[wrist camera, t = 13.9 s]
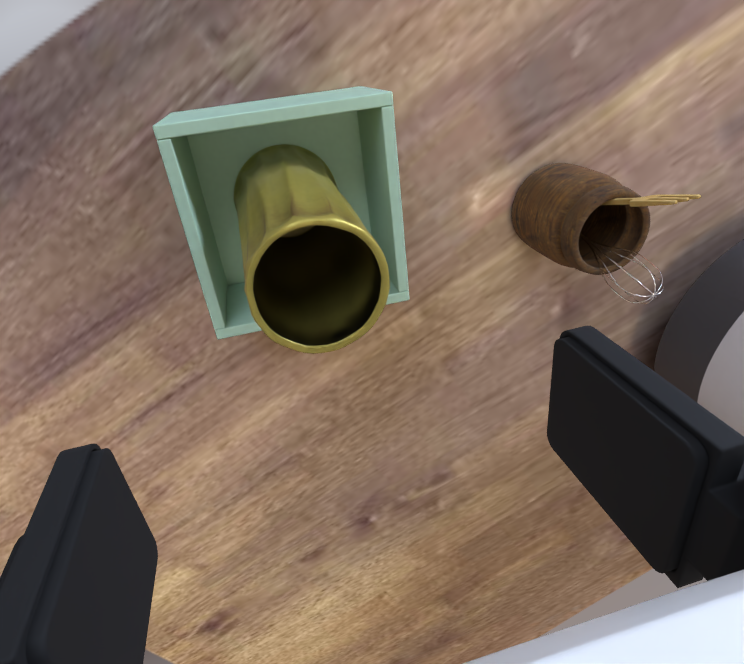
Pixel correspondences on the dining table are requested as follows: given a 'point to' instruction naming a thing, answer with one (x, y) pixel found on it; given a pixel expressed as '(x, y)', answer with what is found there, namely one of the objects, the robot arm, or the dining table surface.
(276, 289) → the vase
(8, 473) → the dining table surface
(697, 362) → the planter
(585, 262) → the utensil holder
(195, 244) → the bin
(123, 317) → the dining table surface
